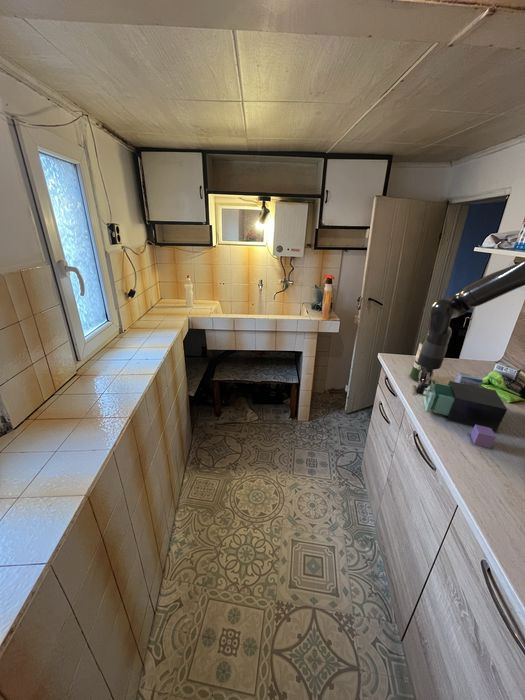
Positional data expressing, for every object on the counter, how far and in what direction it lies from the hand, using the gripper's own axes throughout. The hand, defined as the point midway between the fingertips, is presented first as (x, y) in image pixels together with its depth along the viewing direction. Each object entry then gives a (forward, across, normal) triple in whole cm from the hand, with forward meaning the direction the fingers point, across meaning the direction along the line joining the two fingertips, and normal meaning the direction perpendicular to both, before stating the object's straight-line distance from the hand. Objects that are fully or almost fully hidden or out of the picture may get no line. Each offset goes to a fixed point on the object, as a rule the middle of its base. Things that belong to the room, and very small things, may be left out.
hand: (419, 394), depth 107 cm
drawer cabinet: (+4, 0, -17) cm, 18 cm away
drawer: (+4, 0, -7) cm, 8 cm away
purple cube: (+4, -14, -18) cm, 23 cm away
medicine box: (+5, +17, -19) cm, 26 cm away
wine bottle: (+5, +23, -3) cm, 24 cm away
